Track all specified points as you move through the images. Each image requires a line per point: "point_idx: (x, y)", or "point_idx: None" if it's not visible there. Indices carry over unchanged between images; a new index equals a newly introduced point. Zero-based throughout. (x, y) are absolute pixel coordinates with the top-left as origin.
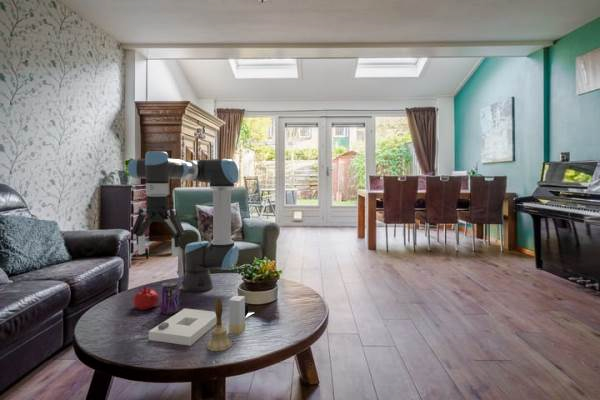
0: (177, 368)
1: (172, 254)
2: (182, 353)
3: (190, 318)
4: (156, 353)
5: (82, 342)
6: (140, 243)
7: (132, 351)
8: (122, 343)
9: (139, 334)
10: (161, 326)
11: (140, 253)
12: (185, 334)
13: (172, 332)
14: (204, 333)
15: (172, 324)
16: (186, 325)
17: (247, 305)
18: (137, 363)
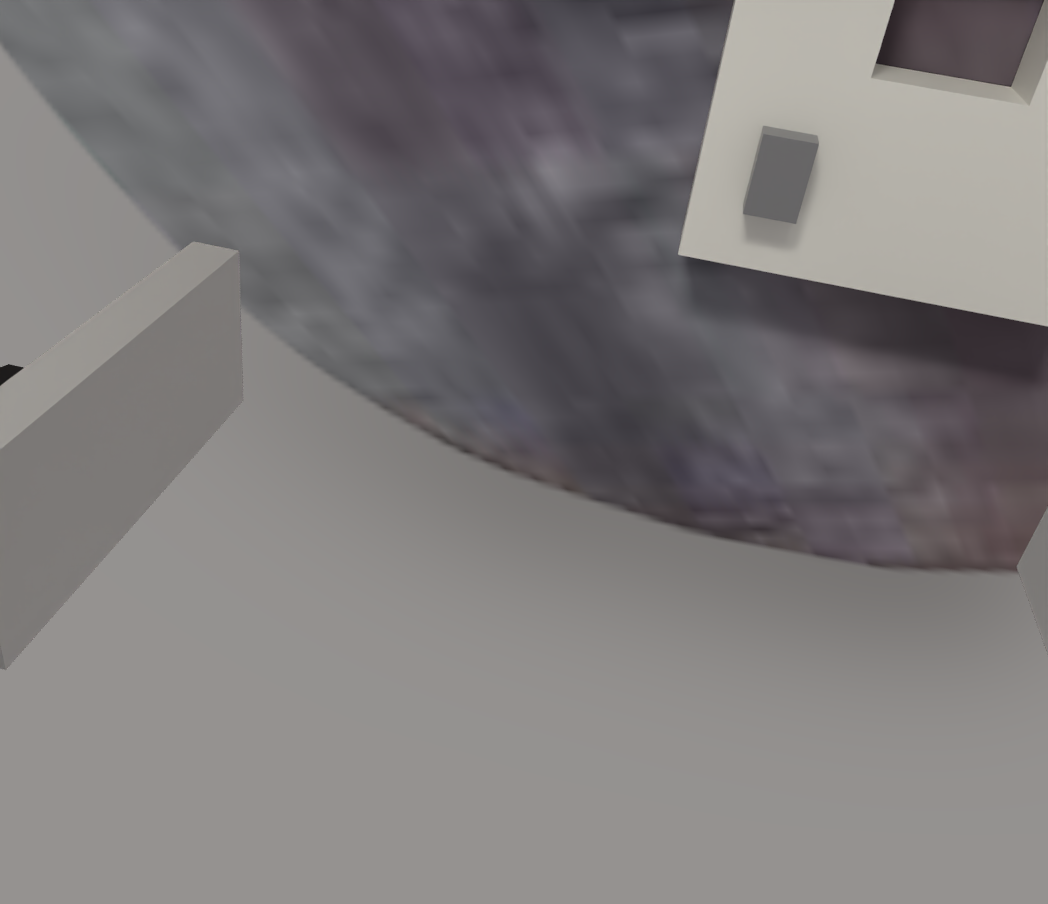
0: None
1: (1042, 604)
2: (1023, 412)
3: None
4: (828, 416)
5: None
6: (122, 530)
7: (649, 396)
8: (514, 294)
9: (555, 138)
10: (775, 217)
11: (233, 404)
12: (1031, 295)
13: (898, 262)
14: None
15: (843, 92)
16: (1000, 105)
17: None
18: (755, 523)
